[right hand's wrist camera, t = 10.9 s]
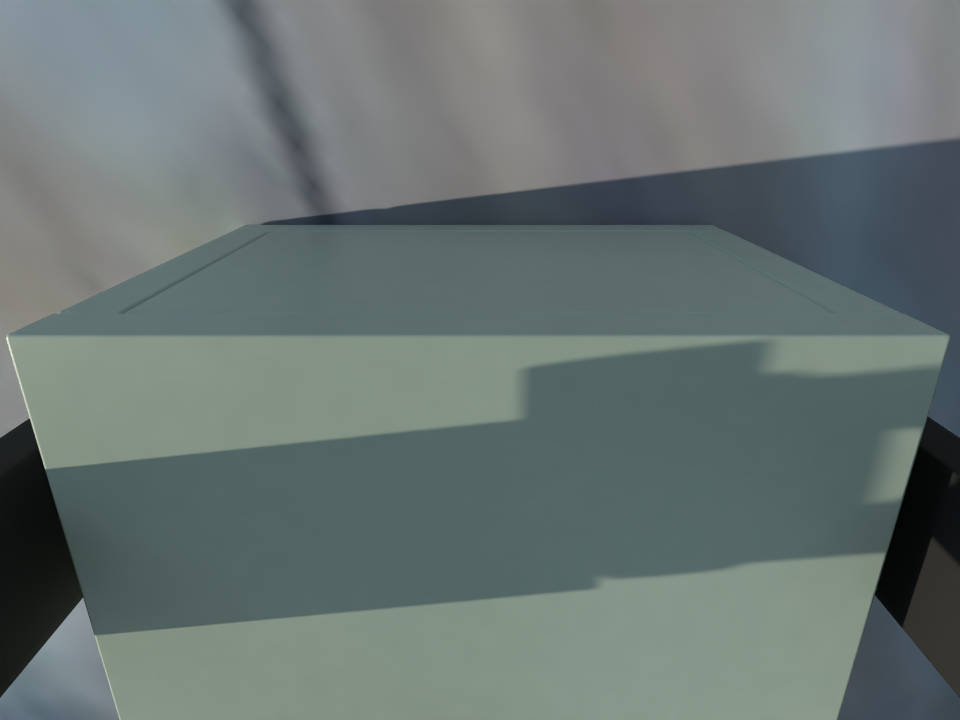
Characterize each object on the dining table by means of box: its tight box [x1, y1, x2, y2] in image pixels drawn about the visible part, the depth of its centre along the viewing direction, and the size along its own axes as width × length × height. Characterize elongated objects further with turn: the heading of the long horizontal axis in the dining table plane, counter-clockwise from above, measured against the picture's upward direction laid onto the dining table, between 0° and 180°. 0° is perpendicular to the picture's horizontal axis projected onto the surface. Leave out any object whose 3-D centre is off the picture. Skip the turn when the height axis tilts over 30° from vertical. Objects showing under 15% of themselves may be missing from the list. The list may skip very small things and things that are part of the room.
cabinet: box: [6, 225, 950, 720], centre depth 14 cm, size 17×11×8 cm, turn 0°
